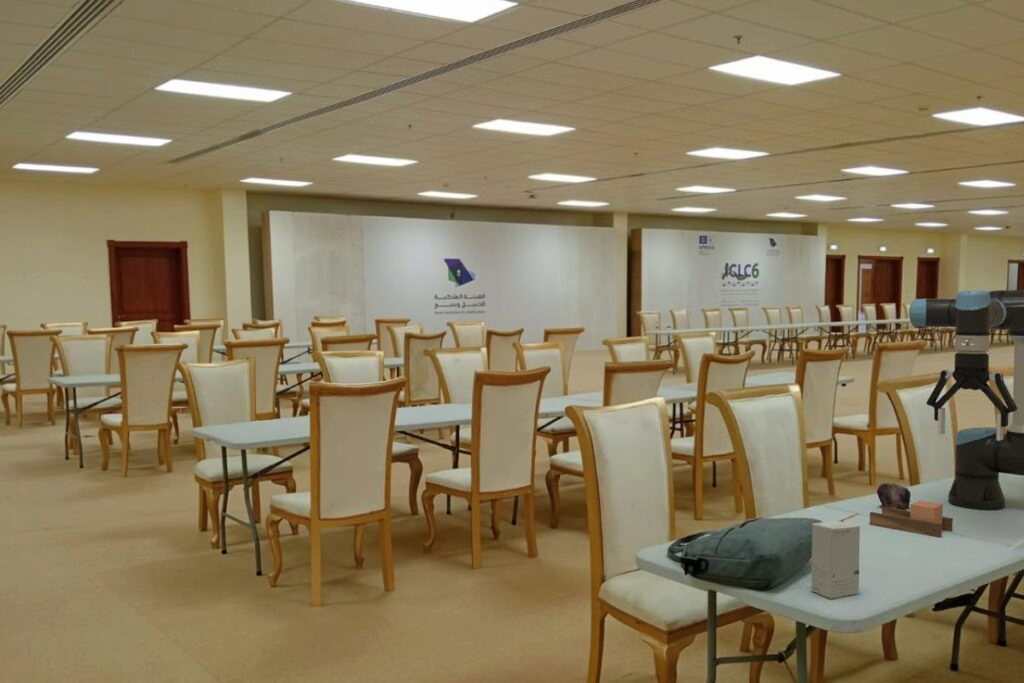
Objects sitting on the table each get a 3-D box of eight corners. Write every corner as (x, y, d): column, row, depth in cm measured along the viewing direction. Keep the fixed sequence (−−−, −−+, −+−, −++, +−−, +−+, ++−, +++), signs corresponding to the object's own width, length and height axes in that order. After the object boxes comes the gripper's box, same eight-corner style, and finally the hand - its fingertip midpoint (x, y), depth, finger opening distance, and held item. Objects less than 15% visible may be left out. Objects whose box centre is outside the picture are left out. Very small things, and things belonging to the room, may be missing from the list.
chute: (857, 516, 247) (857, 501, 246) (954, 534, 228) (954, 517, 228) (838, 524, 238) (838, 508, 238) (937, 543, 220) (937, 525, 219)
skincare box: (830, 600, 179) (831, 529, 178) (809, 591, 184) (810, 522, 184) (860, 594, 182) (861, 524, 181) (839, 585, 188) (840, 518, 187)
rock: (915, 515, 253) (878, 509, 259) (917, 486, 254) (881, 481, 260) (907, 517, 244) (869, 511, 250) (909, 486, 244) (872, 481, 250)
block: (918, 526, 232) (919, 500, 231) (942, 530, 227) (942, 504, 227) (910, 530, 227) (910, 504, 227) (933, 534, 223) (934, 508, 223)
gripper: (914, 351, 221) (912, 433, 222) (1023, 355, 203) (1021, 444, 204) (925, 349, 226) (923, 430, 227) (1032, 353, 209) (1030, 440, 210)
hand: (969, 437), depth 216 cm, fingers open, 13 cm apart
